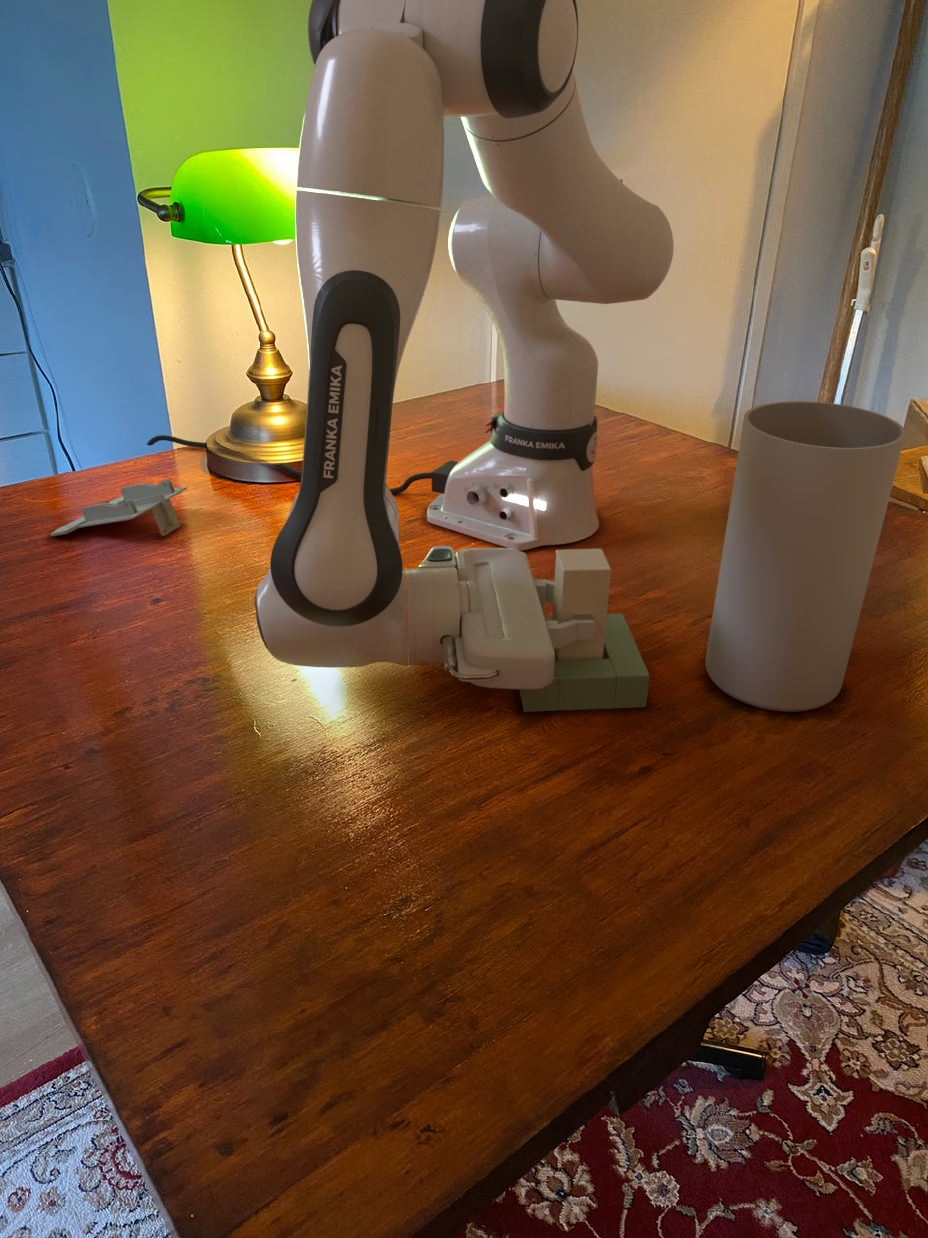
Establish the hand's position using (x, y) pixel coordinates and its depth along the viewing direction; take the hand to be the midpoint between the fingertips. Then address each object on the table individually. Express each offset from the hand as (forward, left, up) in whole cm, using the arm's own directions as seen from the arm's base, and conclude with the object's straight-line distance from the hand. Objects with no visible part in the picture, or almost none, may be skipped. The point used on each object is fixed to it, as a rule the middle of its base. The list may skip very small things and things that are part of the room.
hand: (588, 611), depth 84 cm
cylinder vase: (+16, +8, -7) cm, 19 cm away
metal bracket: (-65, +8, -7) cm, 66 cm away
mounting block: (-1, 0, -7) cm, 7 cm away
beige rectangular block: (-1, 0, -7) cm, 7 cm away
